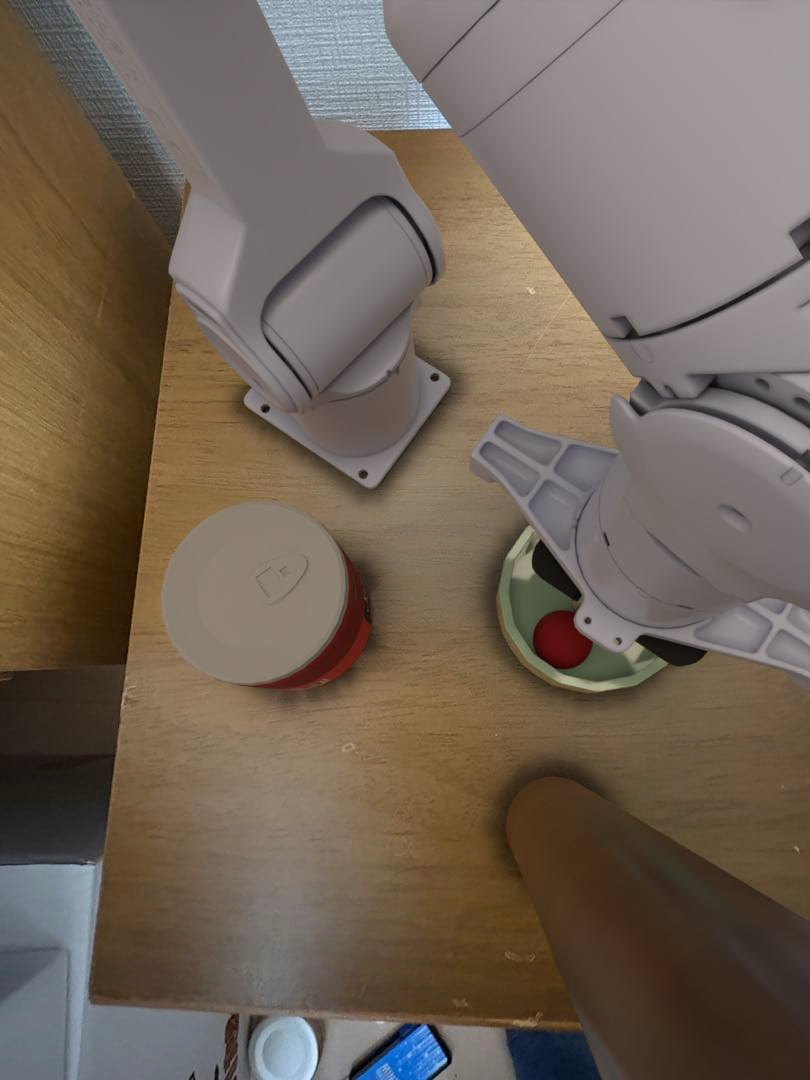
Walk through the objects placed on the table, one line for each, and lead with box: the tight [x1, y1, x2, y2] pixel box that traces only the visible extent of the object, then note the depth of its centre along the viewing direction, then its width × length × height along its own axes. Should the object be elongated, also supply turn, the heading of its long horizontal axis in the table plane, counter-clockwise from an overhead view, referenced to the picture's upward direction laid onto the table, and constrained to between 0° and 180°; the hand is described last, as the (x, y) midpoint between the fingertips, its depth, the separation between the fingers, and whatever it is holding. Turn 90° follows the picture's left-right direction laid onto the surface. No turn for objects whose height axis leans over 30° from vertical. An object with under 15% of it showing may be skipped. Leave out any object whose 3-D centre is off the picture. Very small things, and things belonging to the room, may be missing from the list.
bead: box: [533, 610, 593, 669], centre depth 40 cm, size 3×3×3 cm
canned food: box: [160, 500, 373, 692], centre depth 38 cm, size 8×8×11 cm
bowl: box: [495, 524, 670, 694], centre depth 41 cm, size 9×9×4 cm
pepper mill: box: [505, 775, 810, 1080], centre depth 21 cm, size 5×5×40 cm
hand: (609, 586), depth 36 cm, fingers closed
